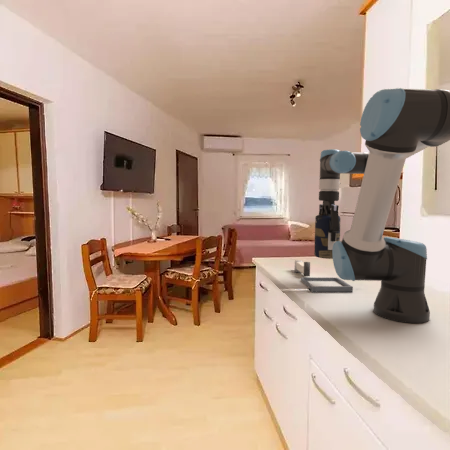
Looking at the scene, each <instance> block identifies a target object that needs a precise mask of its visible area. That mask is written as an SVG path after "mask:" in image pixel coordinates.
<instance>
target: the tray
mask: <svg viewBox="0 0 450 450" xmlns="http://www.w3.org/2000/svg"><path fill="white" fill-rule="evenodd" d="M300 281H301V283H303V284H304V285H305V286H306V287H308V288H306V289H307V291H308V290H309V291H310V292H311V293H314V294H315V293H317V294H318V293H333V294H334V293H338V294H339V293H353V290H354V286H353V285H351V284H349V283H347V282H346V281H345V280H343V279H341V278H340V277H300ZM310 282H337V283H339V284H340V286H339V285H333V286H332V285H330V286H329V285H327V286H326V285H321V286H320V285H319V286H318V285H316V286H315V285H313V284H311V283H310Z"/></svg>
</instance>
